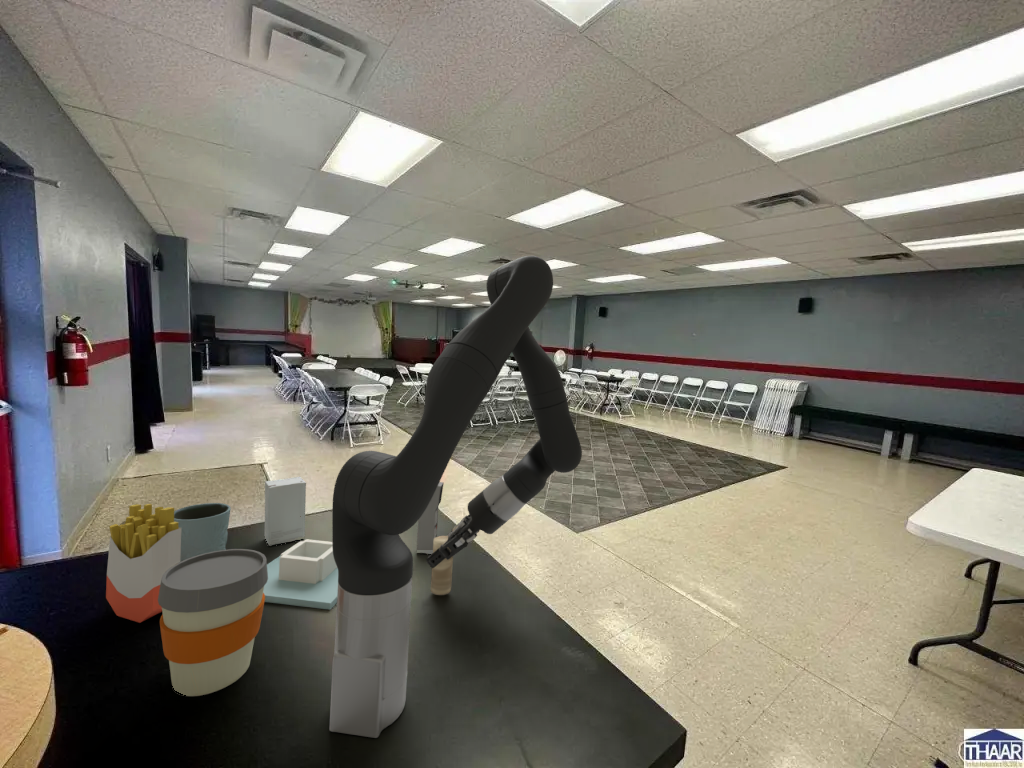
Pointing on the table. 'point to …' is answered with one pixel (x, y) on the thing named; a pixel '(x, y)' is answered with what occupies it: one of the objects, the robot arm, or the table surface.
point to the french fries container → (141, 560)
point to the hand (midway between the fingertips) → (433, 558)
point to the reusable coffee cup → (211, 617)
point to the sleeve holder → (304, 576)
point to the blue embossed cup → (202, 528)
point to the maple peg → (441, 571)
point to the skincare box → (284, 509)
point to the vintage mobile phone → (429, 521)
